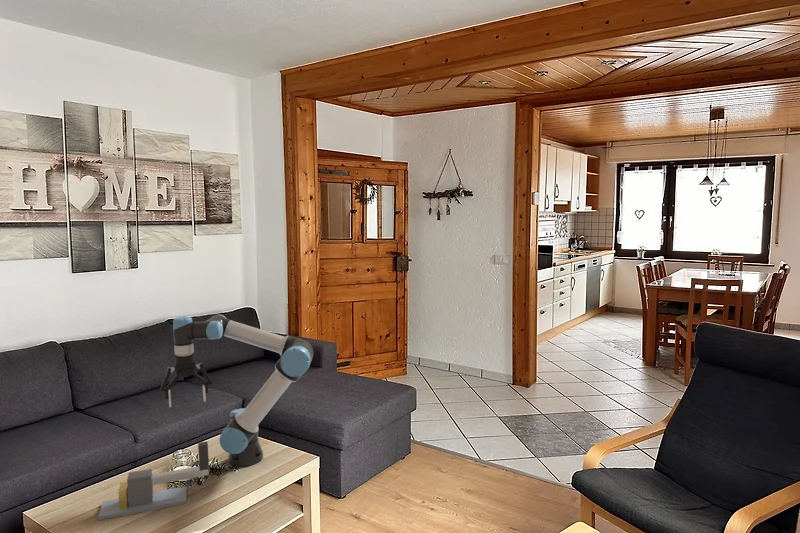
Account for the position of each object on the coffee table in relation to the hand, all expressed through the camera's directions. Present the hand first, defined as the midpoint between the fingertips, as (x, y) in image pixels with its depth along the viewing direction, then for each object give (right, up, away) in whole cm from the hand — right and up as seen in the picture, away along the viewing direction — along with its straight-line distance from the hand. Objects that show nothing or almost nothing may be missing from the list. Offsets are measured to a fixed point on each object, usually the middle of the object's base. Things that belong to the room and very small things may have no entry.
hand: (187, 403), depth 230 cm
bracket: (-9, -33, -21) cm, 40 cm away
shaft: (+1, -25, -17) cm, 31 cm away
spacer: (-15, -33, -23) cm, 43 cm away
